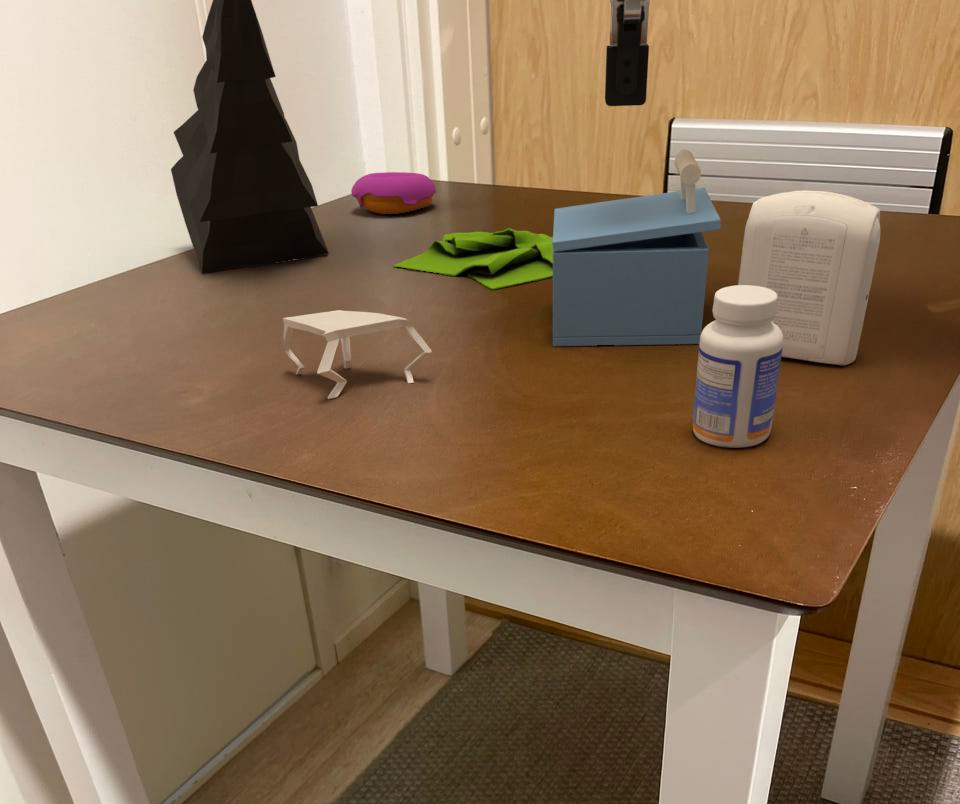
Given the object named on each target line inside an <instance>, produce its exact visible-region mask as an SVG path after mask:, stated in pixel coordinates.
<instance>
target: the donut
mask: <svg viewBox="0 0 960 804" xmlns="http://www.w3.org/2000/svg"><path fill="white" fill-rule="evenodd" d="M350 192H351V196H352V198H355V199H356V200H357V203H358V205H359V207H360V208H363V209H365V210H367V211H369V212H372V213H375V214H379V215H385V214H397V215H399V214H398V213H404V214H406V213H405V212H408V213H410V212H409V211H412V212H415V211H418V210H417V209H419V210H421V209H420V208H422V209H425V208H424V207H426V208H428V207H429V206H431V205H432V203H433V196H434V194H436V193H437V189H436V186H435V183H434V181H433V180H432V179H431V178H430V177H429V176H427V175H425V174H422V173H417V172H407V171H406V172H405V171H404V172H403V171H401V172H399V171H393V172H392V171H388V172H386V171H385V172H372V173H368V174H365V175H363V176H361V177H359V178H358V179H357V180H356V181H355V182H354V184H353V185H352V188H351V191H350ZM427 206H428V207H427ZM414 210H415V211H414Z"/></svg>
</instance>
